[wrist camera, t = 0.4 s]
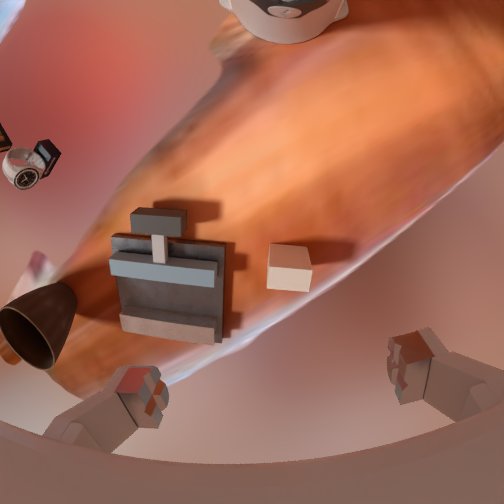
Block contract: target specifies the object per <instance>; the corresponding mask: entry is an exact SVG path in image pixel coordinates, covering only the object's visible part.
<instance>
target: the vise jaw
mask: <svg viewBox="0 0 504 504" xmlns="http://www.w3.org/2000/svg"><path fill="white" fill-rule="evenodd" d="M130 221H131V233H139V234H151V236H152V251H153V255H145V254H135V253H126V252H117V251H116V252H115V253H114V254H113V255H112V256H111V257H110V258H109V264H110V271H111V275H115V276H123V277H130V278H137V279H145V280H153V281H161V282H169V283H177V284H186V285H194V286H203V287H212V288H214V286H215V283H216V280H217V263H218V262H213V261H203V260H193V259H183V258H174V257H168V247H167V236H174V237H181V236H182V235H183V233H184V232H185V231H186V229H187V210H174V209H158V208H142V207H139V208H137V209H136V210H135V211H133V212H132V213H131V214H130Z"/></svg>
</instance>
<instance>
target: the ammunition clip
mask: <svg viewBox="0 0 504 504" xmlns="http://www.w3.org/2000/svg"><path fill="white" fill-rule="evenodd" d="M11 146H12V142H11V141H10V139H9V137H8V136H7V134H6V132H5V131H4V129H3V127H2V125H1V123H0V152H5V151H9V149H10V147H11Z"/></svg>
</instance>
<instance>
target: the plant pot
mask: <svg viewBox="0 0 504 504" xmlns="http://www.w3.org/2000/svg"><path fill="white" fill-rule="evenodd" d="M76 308H77V299H76V297H75V295H74V293H73V292H72V290H71V289H70V288H69V287H68V286H66V285H65V284H62V283H54V284H50V285H47V286H43V287H40V288H38V289H35V290H33V291H31V292H28V293H26V294H24V295H22V296H20V297H18V298H17V299H15V300H13V301H12V302H10V303H9V304H7V305H5V306H4V307H2V308H1V309H0V329H1V332H2V334H3V336H4V338H5V339H6V341H7V343H8V344H9V345H10V347H11V348H12V349H13V350H14V351H15V353H16V354H17V355H18V356H19V357H21V358H22V359H23V360H24V361H25V362H27V363H28V364H30V365H31V366H33V367H35V368H37V369H40V370H50V369H52V368H53V366H54V365H55V362H56V360H57V358H58V356H59V354H60V352H61V350H62V348H63V346H64V344H65V341H66V339H67V336H68V334H69V331H70V328H71V325H72V322H73V319H74V316H75V312H76Z"/></svg>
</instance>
